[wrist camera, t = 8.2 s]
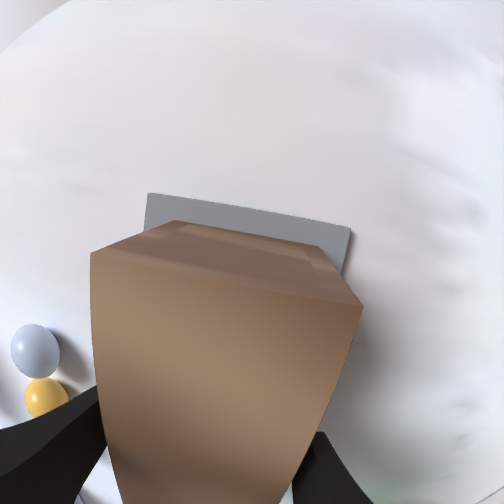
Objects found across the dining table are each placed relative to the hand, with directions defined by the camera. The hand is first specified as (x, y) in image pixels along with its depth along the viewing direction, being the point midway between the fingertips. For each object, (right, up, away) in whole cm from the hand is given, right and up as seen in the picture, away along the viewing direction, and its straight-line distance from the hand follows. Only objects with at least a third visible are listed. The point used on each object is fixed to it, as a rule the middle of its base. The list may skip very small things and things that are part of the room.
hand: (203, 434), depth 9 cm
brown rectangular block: (0, +1, +4) cm, 4 cm away
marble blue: (-10, +1, +5) cm, 11 cm away
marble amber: (-10, -2, +5) cm, 12 cm away
